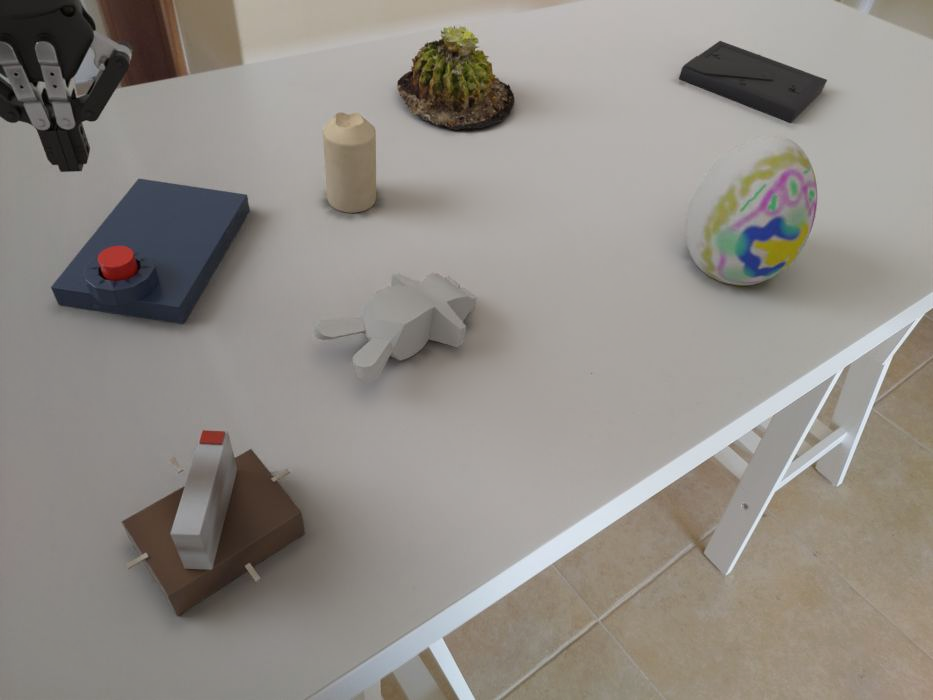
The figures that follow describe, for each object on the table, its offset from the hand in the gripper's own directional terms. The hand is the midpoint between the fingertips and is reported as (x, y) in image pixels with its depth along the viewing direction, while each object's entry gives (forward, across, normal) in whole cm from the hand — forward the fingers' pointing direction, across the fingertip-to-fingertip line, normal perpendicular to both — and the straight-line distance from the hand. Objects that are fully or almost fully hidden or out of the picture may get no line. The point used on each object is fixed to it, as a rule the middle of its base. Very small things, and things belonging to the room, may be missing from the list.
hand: (73, 166), depth 58 cm
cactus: (+15, +39, +38) cm, 56 cm away
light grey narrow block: (+12, +9, -25) cm, 30 cm away
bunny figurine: (+15, +25, -7) cm, 30 cm away
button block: (+15, +3, +8) cm, 17 cm away
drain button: (+12, +1, +1) cm, 12 cm away
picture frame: (+14, +85, +40) cm, 95 cm away
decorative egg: (+15, +62, 0) cm, 64 cm away
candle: (+15, +23, +16) cm, 32 cm away
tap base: (+16, +9, -25) cm, 31 cm away
